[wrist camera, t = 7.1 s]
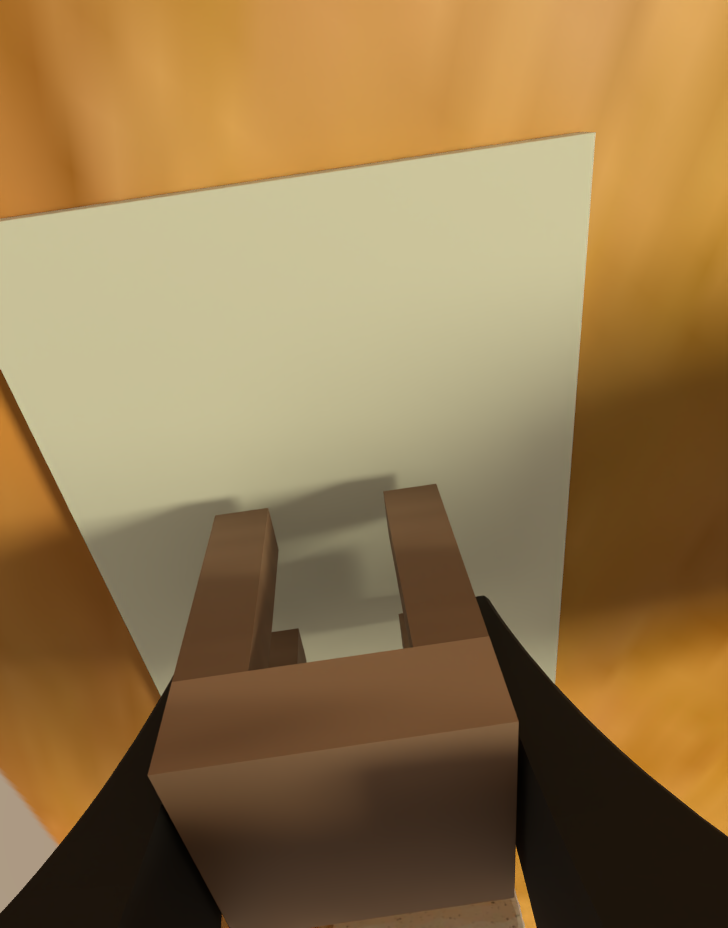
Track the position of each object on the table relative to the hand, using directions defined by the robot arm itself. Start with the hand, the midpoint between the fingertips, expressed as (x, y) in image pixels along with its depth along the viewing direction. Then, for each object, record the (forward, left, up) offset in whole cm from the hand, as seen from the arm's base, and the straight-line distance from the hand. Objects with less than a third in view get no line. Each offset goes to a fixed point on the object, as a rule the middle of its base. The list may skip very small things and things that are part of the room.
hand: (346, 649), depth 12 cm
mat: (0, 0, -3) cm, 3 cm away
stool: (0, 0, -2) cm, 2 cm away
